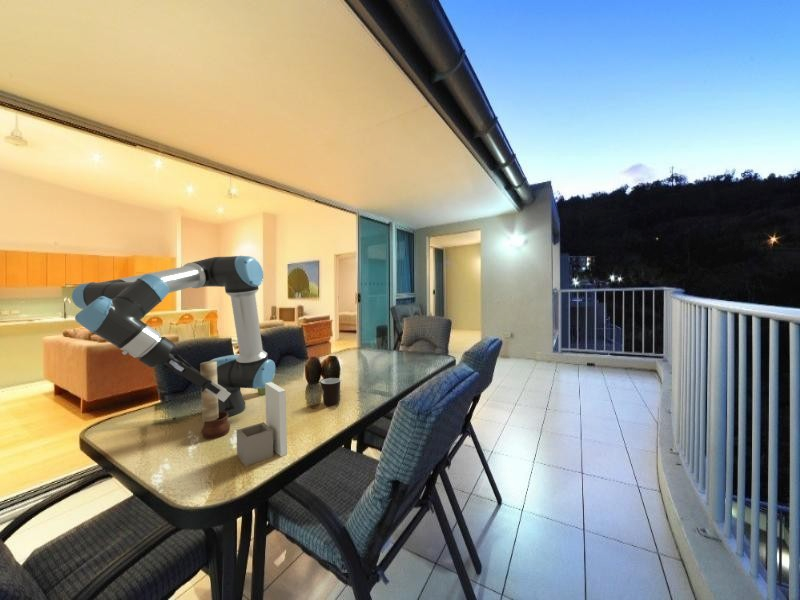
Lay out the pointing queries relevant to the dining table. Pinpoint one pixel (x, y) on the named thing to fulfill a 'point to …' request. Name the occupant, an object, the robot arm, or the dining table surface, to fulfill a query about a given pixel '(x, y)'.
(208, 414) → the oak rail
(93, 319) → the robot arm
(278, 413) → the cup bracket
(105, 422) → the dining table surface
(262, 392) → the plant pot
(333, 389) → the coffee mug
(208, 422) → the ceramic pot
